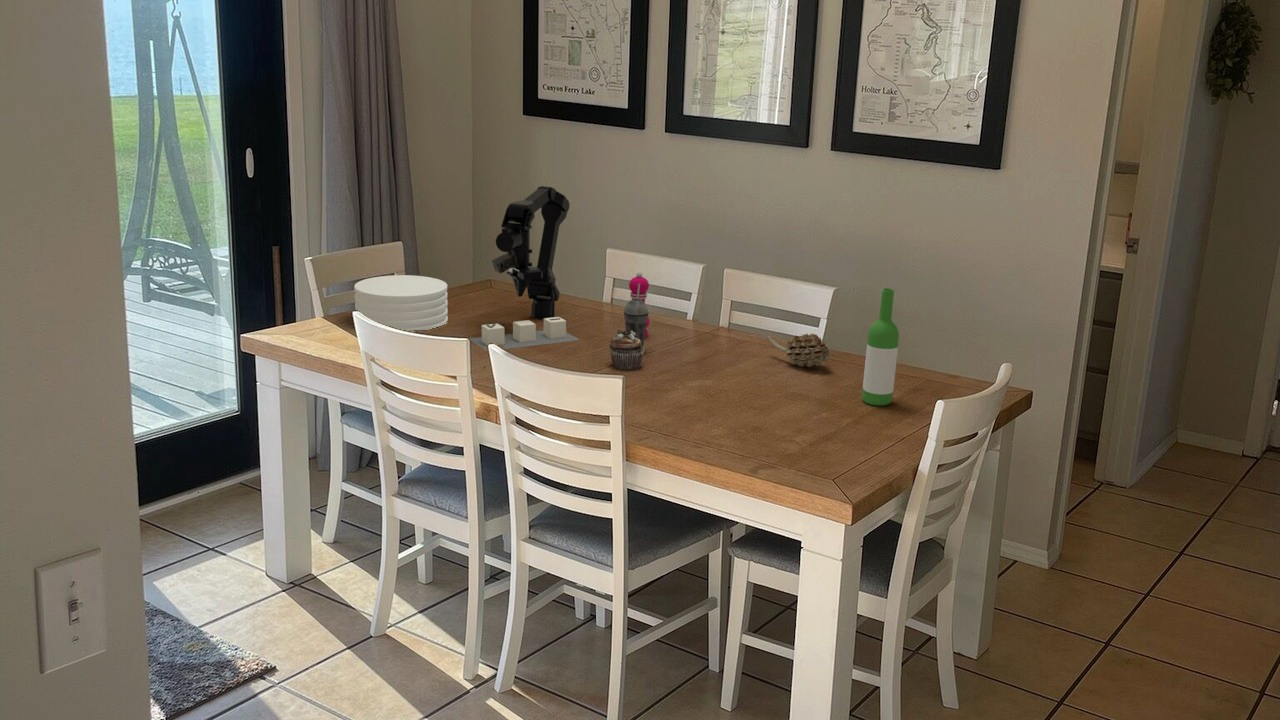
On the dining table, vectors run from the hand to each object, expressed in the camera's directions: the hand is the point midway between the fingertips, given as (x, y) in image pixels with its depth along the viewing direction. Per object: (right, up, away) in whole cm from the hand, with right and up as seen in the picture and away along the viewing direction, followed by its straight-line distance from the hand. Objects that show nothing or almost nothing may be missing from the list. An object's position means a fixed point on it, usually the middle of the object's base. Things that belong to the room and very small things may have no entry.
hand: (520, 296), depth 349 cm
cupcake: (+33, -21, -27) cm, 47 cm away
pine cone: (+80, -21, -19) cm, 85 cm away
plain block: (+2, -13, -8) cm, 16 cm away
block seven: (-7, -14, -13) cm, 20 cm away
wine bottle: (+98, -30, -49) cm, 114 cm away
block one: (+11, -12, -3) cm, 16 cm away
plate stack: (-38, -7, +9) cm, 39 cm away
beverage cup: (+35, -17, -13) cm, 41 cm away
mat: (+2, -14, -8) cm, 16 cm away
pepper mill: (+35, -12, +2) cm, 37 cm away
